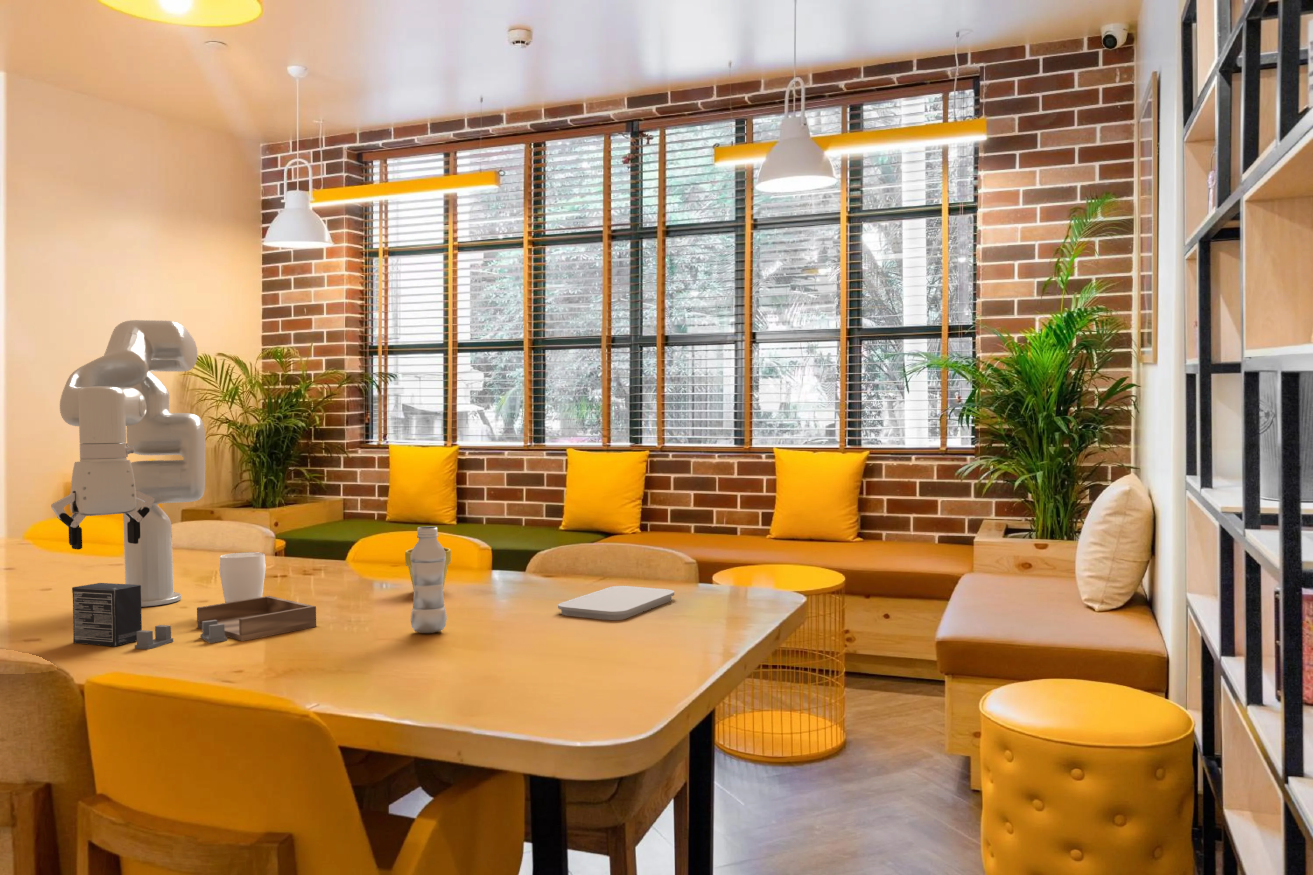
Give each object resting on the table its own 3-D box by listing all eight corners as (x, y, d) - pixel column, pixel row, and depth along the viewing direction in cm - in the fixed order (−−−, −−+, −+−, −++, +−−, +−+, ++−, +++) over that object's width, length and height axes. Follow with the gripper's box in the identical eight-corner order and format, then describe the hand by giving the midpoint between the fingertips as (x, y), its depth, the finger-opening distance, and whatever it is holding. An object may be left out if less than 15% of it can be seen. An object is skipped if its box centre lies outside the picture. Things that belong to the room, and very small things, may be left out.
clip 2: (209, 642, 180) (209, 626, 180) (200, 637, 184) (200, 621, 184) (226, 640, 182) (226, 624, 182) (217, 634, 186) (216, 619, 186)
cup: (250, 616, 203) (248, 558, 202) (211, 615, 205) (209, 557, 204) (275, 607, 212) (274, 552, 211) (237, 606, 213) (236, 551, 213)
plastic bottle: (413, 629, 189) (411, 525, 189) (449, 628, 190) (447, 525, 189) (408, 636, 183) (406, 530, 182) (445, 635, 183) (443, 529, 183)
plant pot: (445, 595, 223) (445, 552, 223) (400, 595, 224) (399, 553, 223) (455, 587, 234) (455, 546, 234) (412, 587, 234) (411, 546, 234)
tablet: (551, 616, 201) (551, 605, 201) (616, 594, 224) (615, 584, 224) (620, 624, 194) (620, 612, 194) (679, 600, 217) (679, 590, 217)
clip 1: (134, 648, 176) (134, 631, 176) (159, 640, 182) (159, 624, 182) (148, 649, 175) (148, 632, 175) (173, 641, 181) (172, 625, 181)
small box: (145, 639, 184) (143, 583, 183) (115, 647, 177) (113, 589, 177) (102, 635, 187) (100, 580, 187) (71, 643, 181) (70, 586, 180)
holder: (197, 627, 193) (196, 607, 193) (269, 614, 204) (269, 595, 204) (242, 640, 181) (241, 619, 181) (316, 626, 192) (315, 606, 192)
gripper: (143, 451, 190) (145, 539, 190) (43, 454, 177) (45, 549, 177) (160, 452, 185) (162, 542, 186) (58, 455, 172) (61, 552, 172)
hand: (105, 545), depth 181 cm, fingers open, 9 cm apart
